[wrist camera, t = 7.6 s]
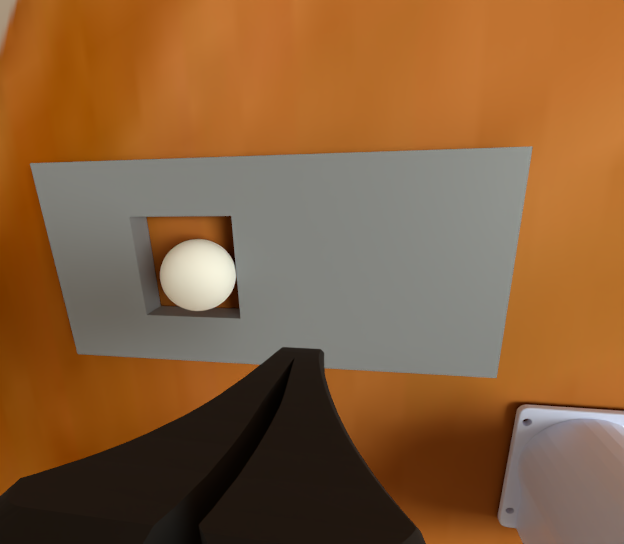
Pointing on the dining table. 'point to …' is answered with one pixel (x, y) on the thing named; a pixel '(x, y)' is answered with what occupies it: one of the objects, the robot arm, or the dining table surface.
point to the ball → (198, 275)
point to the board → (299, 255)
